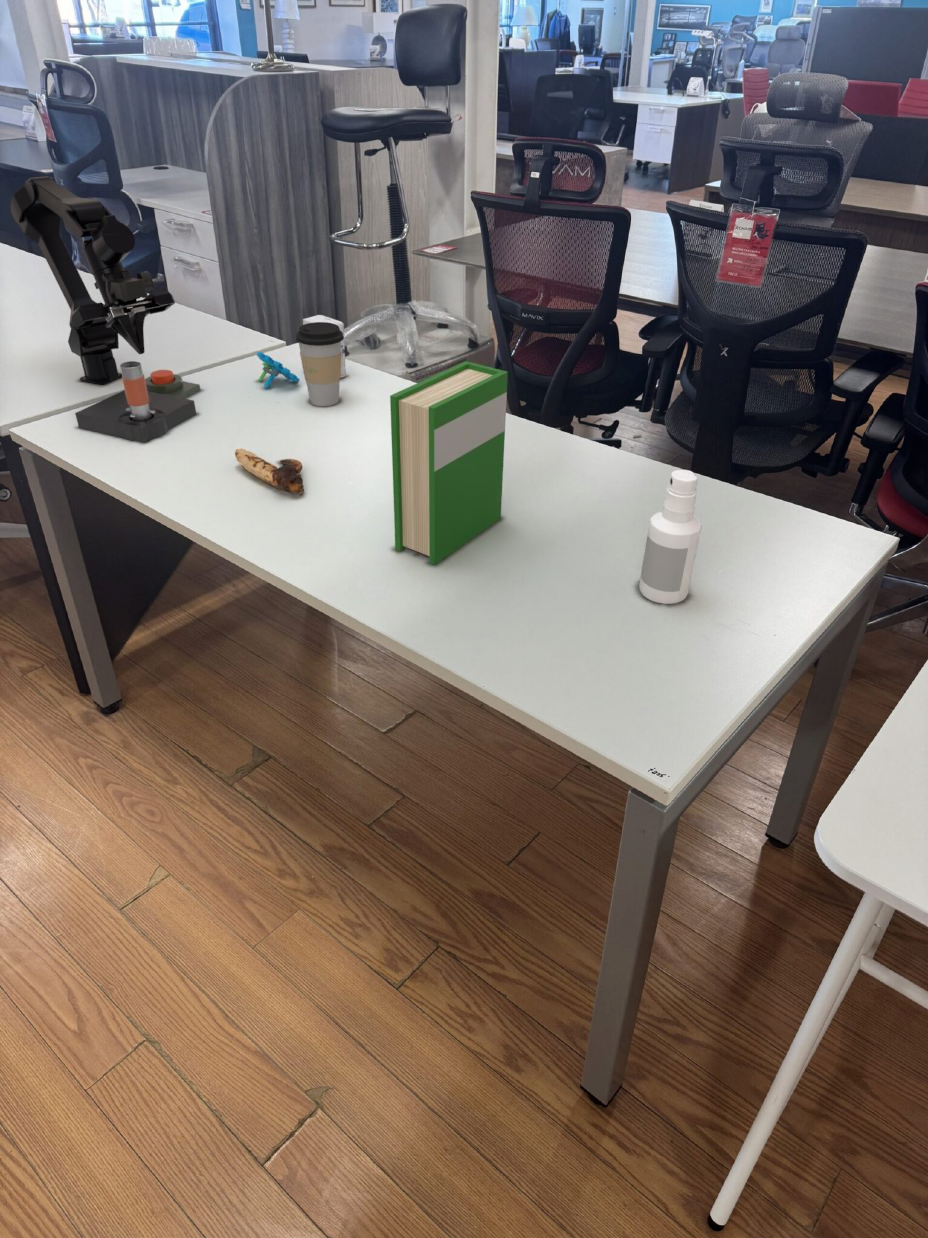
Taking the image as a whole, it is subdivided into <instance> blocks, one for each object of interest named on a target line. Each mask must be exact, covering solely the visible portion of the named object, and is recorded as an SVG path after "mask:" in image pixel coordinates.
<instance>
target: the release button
mask: <svg viewBox="0 0 928 1238" xmlns="http://www.w3.org/2000/svg"><path fill="white" fill-rule="evenodd" d="M173 374H174V372H173V371H172V370H170V369H157V370H154V371H152V372H151V373H150V376H151V379H152V383H155V384H166V383H171V382H173V381H174V376H173Z"/></svg>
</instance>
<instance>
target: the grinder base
mask: <svg viewBox="0 0 928 1238" xmlns="http://www.w3.org/2000/svg"><path fill="white" fill-rule="evenodd" d="M147 392H148V396H149V405H150V410H152V411H155V413H153V414H151V415H152V419H150V420H147V421H141V422H135V421H132V417H130V415H131V413H130V411H126V409H127V408H129V405H128V403H127V399H126V394H125V390H124V389H123V390H122V391H119V392H118V393H115V394H113V395H111V396H109V397H107V398H104V399H102V400H101V401H98V402H96V403H94V404H91V405H89V406H87V407H85V408H83V409H80V410H78V411H76V412H75V414H74V415H75V418H76V422H77V426H78V429H83V430H87V431H92V432H95V433H100V434H105V435H109V436H114V437H118V438H123V439H124V440H129V441H133V442H139V443H147V442H149V441H151V440H155V439H159V438H161V437H163V436H164V435H166V434H167V432H169V431H170V430H171V429H173V428H174V427H176V426H178V425H180V424H182V423H184V422H186V421H188V420H189V419H192V418H193V417H195V416H197V411H196V410H197V409H196V405H195V404H196V403H195V400H194V399H188V398H185V399H184V398H179V397H174V396H169V395H164V394H159V393H154V392H149V391H147Z"/></svg>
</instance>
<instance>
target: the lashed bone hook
mask: <svg viewBox="0 0 928 1238" xmlns="http://www.w3.org/2000/svg"><path fill="white" fill-rule="evenodd" d="M234 455H235V459H236V462H238V463H239V464H240V465H241V466H243V468H244V469H245V470H246V471H248V472H249V473H250V474H252V475H254V476H255V477H257V478H258V479H260V480H261V481H263V482H265V483H267V484H269V485H271V486H273V487H275V488H276V489H279V490H282V491H284V492H287V493H291V494H294V495H300V494H302V493H303V492H305V489H304V486H305V485H304V482H303V481H304V479H303V477H302V475H301V474H300V473H301V471H302V469H303V463H302V462H301V461H300V460H298V459H294V458H284V459H281V460H280V461H279V462H280V463H281V464H282V465H281V466H279V467H277V466H276V465H275V464H273V463H271V462H268V461H267V460H265V459H264V458H262V457H259V456H258V455H257V454H255V453H253V452H251V451H249V450H247V449H244V448H237V449H235V451H234Z"/></svg>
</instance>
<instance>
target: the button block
mask: <svg viewBox="0 0 928 1238" xmlns="http://www.w3.org/2000/svg"><path fill="white" fill-rule="evenodd" d="M173 376H174V381H173V382H171V383H166V384H155V383H152V379H151V375H150V376H148V377H145V382H146V387H147V391H149V392H154V393H159V394H164V395H169V396H174V397H179V398H184V399H188V398H189V397H192V396H193V395H195V394H197V393H199V392H201V385H200V384H199V383H195V382H188V381H183V378H182V376H180V375H179V374H174V373H173Z"/></svg>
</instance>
